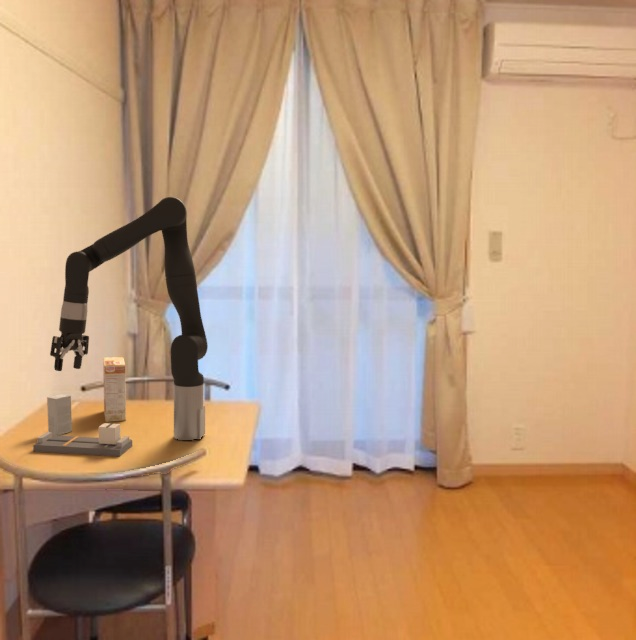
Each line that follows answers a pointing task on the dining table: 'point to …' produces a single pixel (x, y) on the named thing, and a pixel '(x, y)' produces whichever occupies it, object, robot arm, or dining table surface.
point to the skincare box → (59, 414)
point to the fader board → (80, 445)
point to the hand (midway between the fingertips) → (67, 369)
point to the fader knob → (109, 433)
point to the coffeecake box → (114, 389)
